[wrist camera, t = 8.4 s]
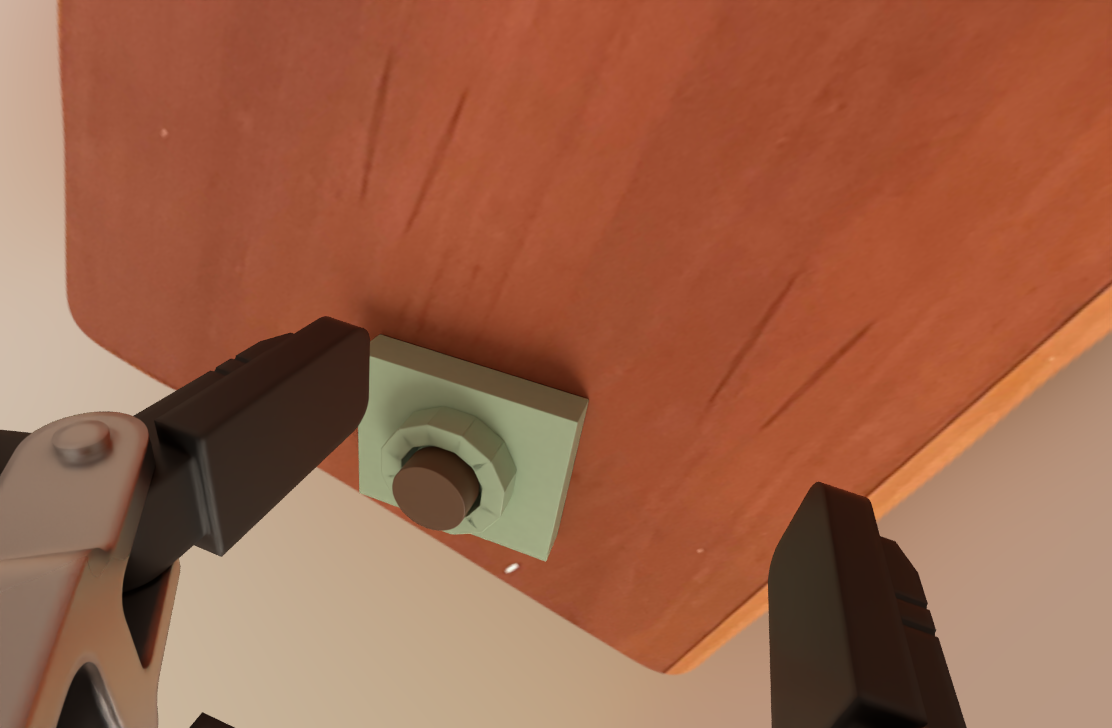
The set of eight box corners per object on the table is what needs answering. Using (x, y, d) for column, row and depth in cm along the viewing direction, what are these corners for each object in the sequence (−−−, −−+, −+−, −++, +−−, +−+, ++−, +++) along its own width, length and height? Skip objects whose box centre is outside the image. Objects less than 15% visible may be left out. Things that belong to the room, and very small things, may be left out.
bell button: (483, 460, 28) (468, 483, 27) (475, 517, 30) (461, 541, 29) (410, 436, 29) (392, 456, 28) (408, 493, 31) (391, 515, 30)
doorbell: (589, 398, 29) (567, 444, 26) (557, 534, 34) (535, 586, 31) (379, 333, 31) (334, 367, 28) (379, 470, 36) (340, 513, 33)
